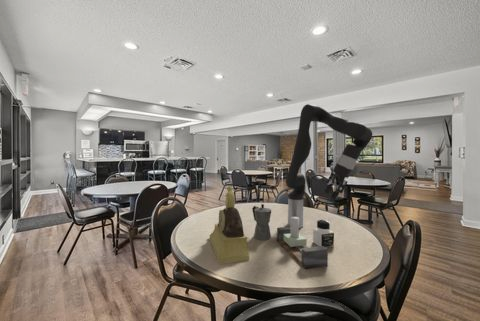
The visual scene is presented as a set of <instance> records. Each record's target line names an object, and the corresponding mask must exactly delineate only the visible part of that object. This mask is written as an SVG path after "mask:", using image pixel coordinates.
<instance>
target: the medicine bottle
mask: <svg viewBox="0 0 480 321" xmlns="http://www.w3.org/2000/svg"><path fill="white" fill-rule="evenodd" d="M312 231H313V232H312V233H313V234H312V243H314V244H315V245H317V247H319V246H324V247H325V248H331V247H334V246H335V232H334V231H332V230H331V223H330V221H328V220H326V219H319V220H317V221H316V228H313V229H312Z"/></svg>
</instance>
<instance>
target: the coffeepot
mask: <svg viewBox="0 0 480 321" xmlns="http://www.w3.org/2000/svg"><path fill="white" fill-rule="evenodd" d="M260 205H261V207H260V206H256V205H254V206H253V207H252V209H251V210H252V216H253V219H254V221H255V223H256V224H255V228H254V234H253V237H254V239H256V240H259V241H267V240H270V239H271V238H272V235H271V234H272V233H271V229H270V225H269V224H270V222H271V215H272V209H270V208H268V207H265V204H263V203H261V204H260Z"/></svg>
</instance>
